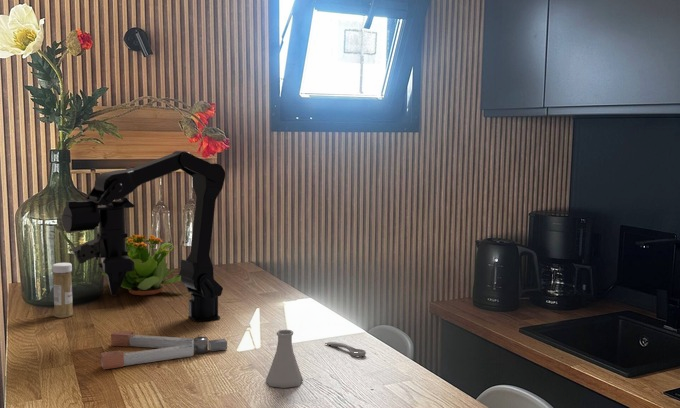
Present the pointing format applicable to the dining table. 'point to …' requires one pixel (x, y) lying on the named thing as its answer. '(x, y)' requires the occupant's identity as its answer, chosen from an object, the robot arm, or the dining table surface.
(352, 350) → the spoon
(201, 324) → the dining table surface
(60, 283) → the sprinkles bottle
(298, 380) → the flask
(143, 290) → the potted flower
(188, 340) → the tong arm
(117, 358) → the tongs fixed
